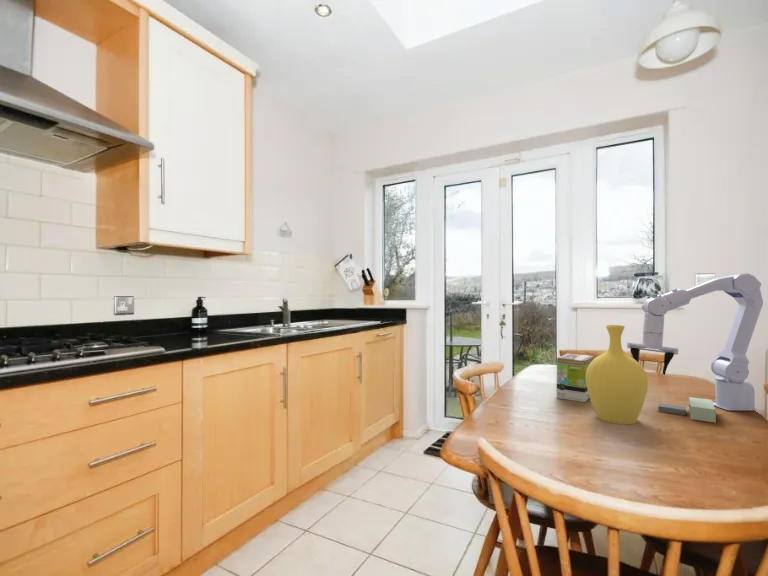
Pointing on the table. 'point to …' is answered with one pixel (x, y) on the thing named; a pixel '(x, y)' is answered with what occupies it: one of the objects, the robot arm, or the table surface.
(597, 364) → the vase
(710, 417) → the pale green block
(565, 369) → the tea box
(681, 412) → the gray block
